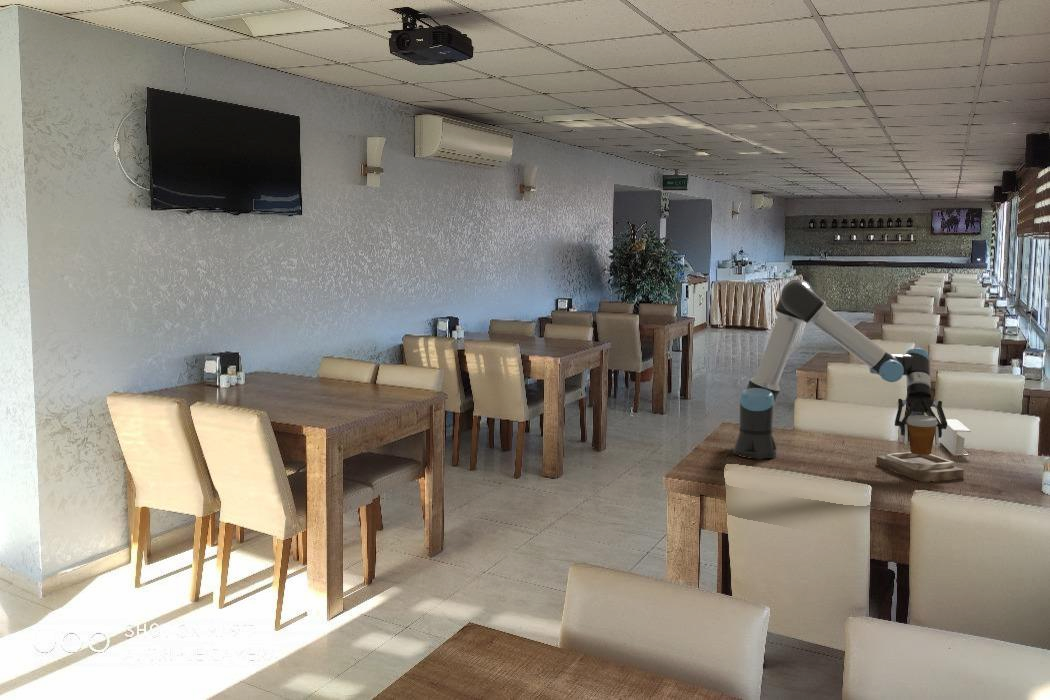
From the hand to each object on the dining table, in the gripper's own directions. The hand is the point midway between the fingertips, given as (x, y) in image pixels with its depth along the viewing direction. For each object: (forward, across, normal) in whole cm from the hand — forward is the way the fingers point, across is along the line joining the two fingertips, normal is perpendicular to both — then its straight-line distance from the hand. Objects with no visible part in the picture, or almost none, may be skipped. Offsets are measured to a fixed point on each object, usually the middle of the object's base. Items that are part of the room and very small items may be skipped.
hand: (921, 444), depth 273 cm
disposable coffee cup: (0, 0, +5) cm, 5 cm away
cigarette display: (-20, +15, +36) cm, 44 cm away
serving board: (+5, 0, +10) cm, 11 cm away
